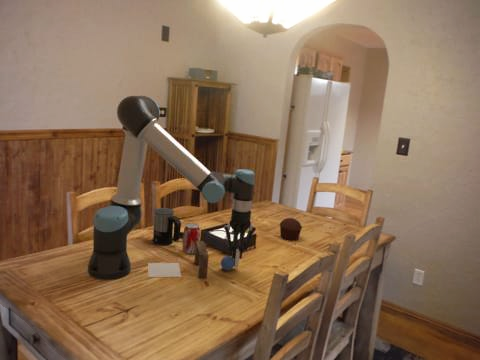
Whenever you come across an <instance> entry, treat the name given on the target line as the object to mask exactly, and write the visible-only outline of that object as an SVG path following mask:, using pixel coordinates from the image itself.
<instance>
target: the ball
mask: <svg viewBox="0 0 480 360" xmlns="http://www.w3.org/2000/svg"><path fill="white" fill-rule="evenodd" d="M234 264H235V262H234V259H233V258H232V256H230V255H229V256H228V255H226V256H224V257H222V258H221V261H220V266H221V268H222V269H223V270H225V271H231V270H232V269H233V268H235V267H234Z"/></svg>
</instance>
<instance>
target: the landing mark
mask: <svg viewBox="0 0 480 360" xmlns="http://www.w3.org/2000/svg"><path fill="white" fill-rule="evenodd" d="M148 278H182V274H181V269H180V264H179V262H153V263H152V262H148V263H147V279H148Z"/></svg>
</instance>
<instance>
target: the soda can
mask: <svg viewBox="0 0 480 360" xmlns="http://www.w3.org/2000/svg"><path fill="white" fill-rule="evenodd" d="M183 232H184V234H183V237H182V251H183V252H184V253H185V254H188V255H193V254H194V255H195V248H196V241H201V240H200V238H201V228H200V225H199V224H197V223H187V224H185V226H184V229H183Z"/></svg>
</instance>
